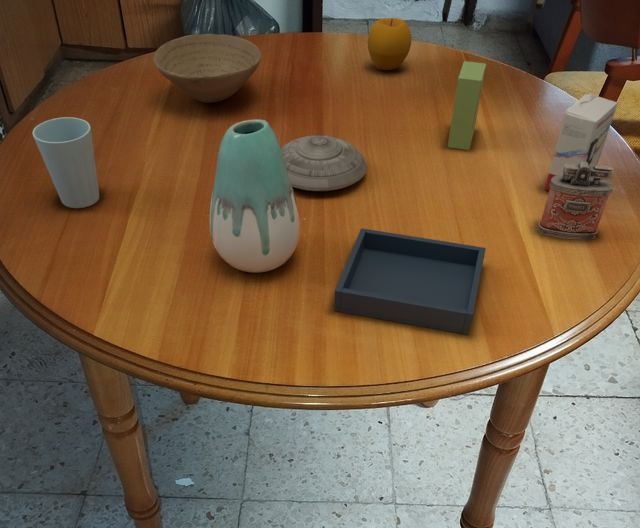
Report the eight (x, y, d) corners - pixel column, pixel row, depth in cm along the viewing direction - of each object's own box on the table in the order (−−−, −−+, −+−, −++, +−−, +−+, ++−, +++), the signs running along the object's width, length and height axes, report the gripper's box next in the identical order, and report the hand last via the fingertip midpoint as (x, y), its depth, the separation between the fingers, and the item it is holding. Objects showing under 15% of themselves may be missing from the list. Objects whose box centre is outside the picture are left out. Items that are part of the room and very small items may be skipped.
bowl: (223, 130, 115) (218, 81, 109) (139, 106, 121) (130, 58, 115) (281, 91, 126) (280, 45, 120) (201, 71, 132) (196, 25, 126)
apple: (387, 81, 130) (391, 30, 123) (356, 67, 134) (358, 18, 127) (417, 69, 134) (422, 19, 127) (386, 56, 138) (390, 8, 131)
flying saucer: (289, 145, 112) (288, 111, 108) (377, 159, 109) (379, 125, 105) (256, 189, 103) (254, 154, 98) (351, 206, 100) (353, 171, 95)
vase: (197, 252, 91) (178, 119, 78) (268, 224, 96) (261, 94, 83) (244, 295, 85) (232, 159, 72) (317, 262, 90) (319, 129, 77)
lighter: (537, 235, 95) (557, 168, 87) (537, 222, 97) (555, 155, 90) (596, 241, 94) (621, 174, 87) (594, 228, 96) (618, 161, 89)
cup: (104, 182, 103) (87, 113, 96) (110, 208, 99) (92, 138, 91) (53, 189, 102) (31, 120, 94) (56, 216, 97) (33, 146, 89)
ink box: (572, 200, 101) (597, 121, 93) (542, 189, 103) (563, 111, 94) (594, 177, 106) (620, 100, 97) (565, 167, 108) (587, 91, 99)
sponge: (474, 131, 116) (486, 63, 108) (469, 150, 111) (481, 80, 103) (453, 128, 117) (463, 60, 108) (447, 147, 112) (458, 77, 104)
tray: (481, 267, 90) (485, 247, 87) (468, 335, 81) (473, 314, 78) (359, 247, 92) (360, 228, 90) (334, 310, 83) (334, 290, 81)
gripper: (593, -91, 109) (561, 43, 111) (441, -103, 114) (412, 25, 115) (603, -126, 102) (568, 18, 103) (439, -138, 106) (408, 0, 108)
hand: (485, 22), depth 109 cm, fingers open, 13 cm apart
